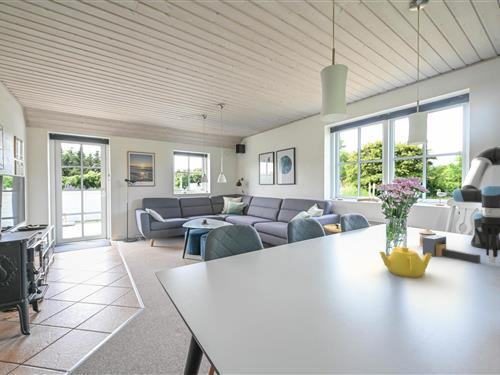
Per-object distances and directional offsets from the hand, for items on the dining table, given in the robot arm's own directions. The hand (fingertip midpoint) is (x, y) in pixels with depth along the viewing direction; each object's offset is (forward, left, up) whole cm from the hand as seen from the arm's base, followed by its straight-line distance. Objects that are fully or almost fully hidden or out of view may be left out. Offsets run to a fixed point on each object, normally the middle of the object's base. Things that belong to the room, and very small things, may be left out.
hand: (491, 262), depth 124 cm
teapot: (+47, -17, -2) cm, 50 cm away
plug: (0, -16, -2) cm, 16 cm away
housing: (0, -26, -1) cm, 26 cm away
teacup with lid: (-16, -36, -2) cm, 39 cm away
